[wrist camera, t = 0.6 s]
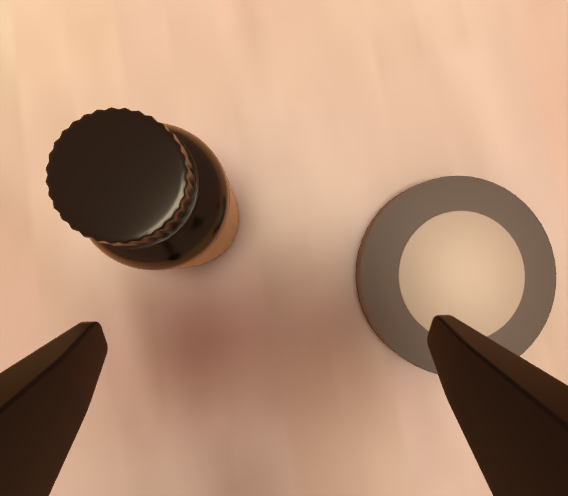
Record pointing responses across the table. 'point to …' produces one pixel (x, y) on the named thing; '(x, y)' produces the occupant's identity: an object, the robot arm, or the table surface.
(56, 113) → the table surface
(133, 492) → the table surface
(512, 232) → the hub pad
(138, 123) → the supplement bottle
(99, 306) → the table surface
